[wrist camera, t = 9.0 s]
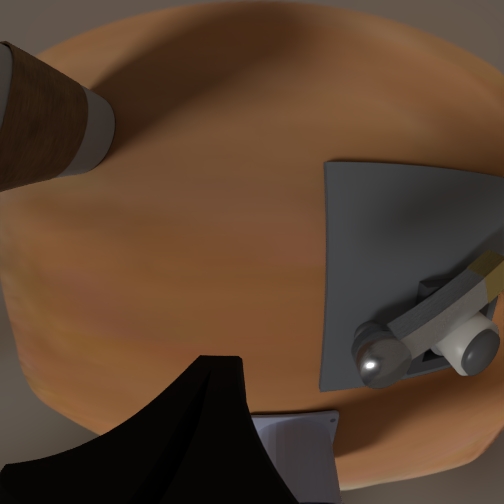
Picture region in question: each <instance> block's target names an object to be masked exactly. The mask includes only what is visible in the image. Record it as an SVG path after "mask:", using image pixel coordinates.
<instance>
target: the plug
mask: <svg viewBox="0 0 504 504" xmlns="http://www.w3.org/2000/svg"><path fill="white" fill-rule="evenodd" d="M499 344H500V337H499V330H498V327H497V325H496V324H494V323H493V322H492V321H491V320H489V319H488V318H487V317H485V316H484V315H483V314H482V313H480V312H479V311H478V312H477V313H476V314H475V315H473V316H472V317H471V318H470V319H468V320H467V321H466V322H465V323H463V324H462V325H461V326H460V327H458V328H457V329H456V330H454V331H453V332H452V333H450V334H449V335H448V336H446V337H445V338H444V339H442V340H441V341H439V342H438V343H437V344H435V345H434V346H432V347H431V348H430V349H431V350H432V351H433V352H434V353H435V354H437V355H441V356H444V357H445V358H446V359H447V360H448V361H449V363H450V364H451V365H452V366H453V367H454V369H455V370H456V371H457V372H458V373H459V374H460V375H462V376H467V375H469V376H474V375H477V374H479V373H480V372H482V371H483V370H484V369H485V368H486V367H487V366H488V365H489V364H490V363H491V361H492V360H493V359H494V357H495V355H496V353H497V351H498V348H499Z"/></svg>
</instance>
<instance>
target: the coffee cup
mask: <svg viewBox="0 0 504 504" xmlns="http://www.w3.org/2000/svg"><path fill="white" fill-rule="evenodd" d="M114 130H115V117H114V113H113V110H112V108H111V106H110V104H109V103H108V102H107V101H106V100H105V99H104V98H102V97H101V96H99V95H97V94H96V93H94V92H92V91H91V90H89V89H87V88H85V87H84V86H82V85H80V84H79V83H78V82H76V81H74V80H73V79H71V78H69V77H68V76H66V75H64V74H63V73H61V72H60V71H58V70H56V69H54V68H53V67H51V66H49V65H48V64H46V63H44V62H43V61H41V60H39V59H37V58H36V57H34V56H32V55H30V54H29V53H27V52H25V51H23V50H21V49H20V48H18V47H16V46H14V45H12V44H10V43H8V42H7V41H3V42H0V192H2V191H5V190H9V189H13V188H16V187H20V186H24V185H28V184H32V183H37V182H41V181H45V180H50V179H52V178H58V177H64V176H71V175H77V174H83V173H85V172H88V171H90V170H91V169H93V168H94V167H96V166H97V165H98V164H99V163H100V162H101V160H102V159H103V158H104V157H105V155H106V153H107V152H108V150H109V148H110V145H111V143H112V140H113V136H114Z"/></svg>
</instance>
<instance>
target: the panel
mask: <svg viewBox="0 0 504 504" xmlns="http://www.w3.org/2000/svg"><path fill="white" fill-rule="evenodd" d="M324 180H325V207H326V283H325V310H324V329H323V344H322V357H321V368H320V379H319V389H320V392H326V391H336V390H344V389H351V388H358V387H365V386H366V385H365V384H364V383H363V382H362V379H361V377H360V375H359V372H358V370H357V367H356V365H355V363H354V360H353V358H352V355H351V347H352V344H353V342H354V340H355V338H356V337H357V336H358V335H359V334H360V333H361V332H362V331H363V330H365V329H366V328H368V327H370V326H372V325H376V324H386V325H387V324H388V323H390V322H392V321H393V320H395V319H396V318H398V317H400V316H401V315H403V314H404V313H406V312H407V311H409V310H411V309H412V308H414V307H415V306H417V305H418V304H420V303H421V302H422V301H424V300H425V299H427V298H428V297H430V296H431V295H432V294H434V293H435V292H437V291H438V290H439V289H441V288H442V287H444V286H445V285H446V284H448V283H449V282H450V281H452V280H453V279H454V278H455V277H457V276H458V275H459V274H461V273H462V272H463V271H464V270H466V269H467V267H468V266H469V265H470V264H471V263H473V262H474V261H475V260H476V259H477V258H479V257H480V256H481V255H482V254H483V253H485V252H486V251H487V250H491V251H493V252H496V253H498V254H500V255H503V256H504V177H499V176H494V175H488V174H482V173H475V172H469V171H462V170H454V169H446V168H437V167H427V166H416V165H403V164H387V163H365V162H324ZM497 298H498V295H497V296H496V297H495V298H494V299H493V300H492V301H491V302H490V303H487V304H486V305H485V306H484V307H483V308H482V309H480V310H479V312H480V313H482V314H483V315H484V316H485V317H487V318H488V319H489V320H491V321H492V318H493V314H494V310H495V306H496V302H497ZM449 367H453V366H452V365H451V364H450V363H449V361H448V360H447V359H446V358H445V357H444V356H441V355H437V354H435V353H434V352H433V351H432V350H431V349H430V348H429V349H428V350H426V351H425V352H423V353H422V354H420V355H419V356H417V357H416V358H414V359H413V360H412V361H411V365H410V367H409V369H408V371H407V372H406V374H405V375H404V376H403V377H402V378H401V379H400V380H403V379H407V378H412V377H416V376H420V375H424V374H428V373H432V372H435V371H439V370H443V369H446V368H449Z"/></svg>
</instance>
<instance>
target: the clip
mask: <svg viewBox="0 0 504 504" xmlns="http://www.w3.org/2000/svg"><path fill="white" fill-rule="evenodd" d="M503 290H504V256H503V255H500V254H498V253H496V252H493V251H491V250H487V251H486V252H485V253H483V254H482V255H481V256H480V257H479V258H477V259H476V260H475V261H474V262H473V263H471V264H470V265H469V266H468V267H467V269H466V270H464V271H463V272H462V273H461V274H459V275H458V276H457V277H455V278H454V279H453V280H452V281H450V282H449V283H448V284H446V285H445V286H444V287H442V288H441V289H439V290H438V291H437V292H435V293H434V294H432V295H431V296H430V297H428V298H427V299H425V300H424V301H422V302H421V303H420V304H418V305H417V306H415V307H414V308H412V309H411V310H409V311H407V312H406V313H404V314H403V315H401V316H400V317H398V318H396V319H395V320H393V321H392V322H390V323H388V324H387V325H386V324H376V325H372V326H370V327H368V328H366V329H365V330H363V331H362V332H361V333H360V334H359V335H358V336H357V337H356V338H355V340H354V342H353V344H352V347H351V355H352V358H353V360H354V363H355V365H356V367H357V370H358V372H359V375H360V377H361V379H362V382H363V383H364V384H365V385H366V386H367V387H369V388H373V389H380V388H385V387H388V386H390V385H392V384H394V383H396V382H397V381H399V380H400V379H401V378H402V377H403V376H404V375H405V374H406V372H407V371H408V369H409V367H410V365H411V361H412V360H413V359H414V358H416V357H417V356H419V355H420V354H422V353H423V352H425V351H426V350H428V349H429V348H431V347H432V346H434V345H435V344H437V343H438V342H439V341H441V340H442V339H444V338H445V337H446V336H448V335H449V334H450V333H452V332H453V331H454V330H456V329H457V328H458V327H460V326H461V325H462V324H463V323H465V322H466V321H467V320H468V319H470V318H471V317H472V316H473V315H475V314H476V313H477V312H478V311H479V310H480V309H482V308H483V307H484V306H485V305H486V304H487V303H490V302H491V301H492V300H493V299H494V298H495V297H496V296H497V295H499V294H500V293H501V292H502V291H503Z"/></svg>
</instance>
